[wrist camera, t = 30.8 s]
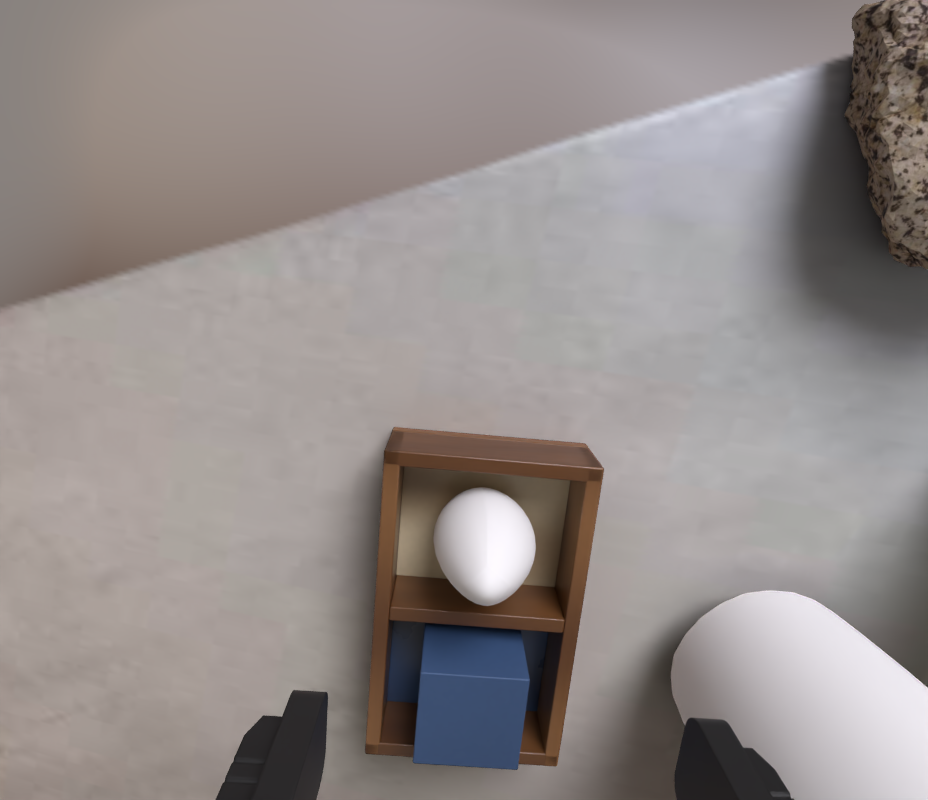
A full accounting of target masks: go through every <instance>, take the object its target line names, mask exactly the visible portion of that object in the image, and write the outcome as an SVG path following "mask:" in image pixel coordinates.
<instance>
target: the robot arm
mask: <svg viewBox="0 0 928 800" xmlns="http://www.w3.org/2000/svg"><path fill="white" fill-rule="evenodd" d="M327 707H328V694H327V692H314V691H299V690H294V691H293V692H292V693H291V695H290V698H289V700H288V703H287V706H286V708H285V711H284V714H283V716H282V717H278V716H262V717H261V719H260V720H259V721H258V722H257V723H256V724H255V725H254V726H253V727H252V728H251V729H250V730H249V731H248V732H247V733H246V734H245V735H244V737H243V740H242V742H241V744H240V746H239V749H238V751H237V753H236V755H235V757H234V762H233V763H232V764H231V766H230V769H229V771H228V773H227V775H226V778H225V782H224V783H223V784H222V787H221V789H220V791H219V793H218V796H217V798H216V800H316V799H317V795H318V791H319V787H320V783H321V778H322V773H323V767H324V761H325V752H326V731H327ZM675 792H676V797H677V800H794V799H793V798H791V796H790V792H789V791H788V789H787V788H786V786H785V785H784V783H783V781H782V780H781V778H780V777H779V775H778V773H777V772H776V770H775V769H774V768H773V767H772V766H771V765H770V764H769V763H768V762H767V761H765V760H764V759H763V758H762V757H761V756H760V755H759V754H758V753H757V752H756V751H755V750H754V749H753V748H743V746H742V745H741V743H740V741H739V740H738V738H737V736H736V735H735V733H734V731H733V730H732V728H731V726H730V725H729V724H728V723H727V722H726V721H725V720H721V719H706V718H689V719H688V720H687V722H686V725H685V729H684V734H683V738H682V743H681V747H680V752H679V756H678V761H677V765H676V770H675Z"/></svg>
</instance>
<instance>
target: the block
mask: <svg viewBox="0 0 928 800" xmlns="http://www.w3.org/2000/svg"><path fill="white" fill-rule="evenodd" d="M529 683H530V679H529V673H528V667H527V662H526V656H525V650H524V645H523V639H522V633H521V630H516V629H502V628H489V627H475V626H462V625H448V624H435V623H425V626H424V637H423V648H422V659H421V670H420V682H419V694H418V706H417V717H416V729H415V741H414V753H413V763H418V764H434V765H450V766H465V767H481V768H497V769H512V770H517V769H518V764H519V756H520V749H521V742H522V734H523V727H524V720H525V712H526V705H527V698H528V690H529Z"/></svg>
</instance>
